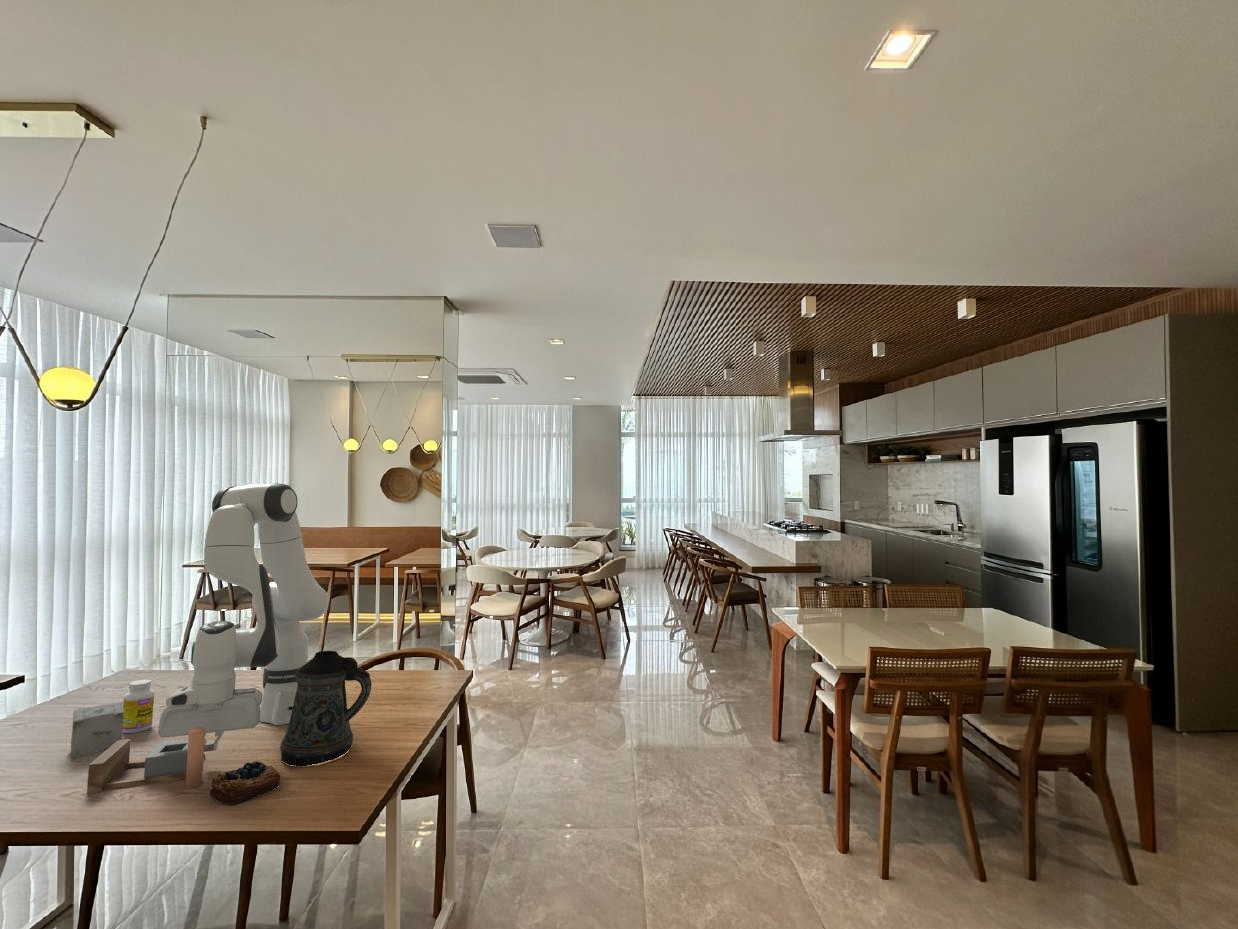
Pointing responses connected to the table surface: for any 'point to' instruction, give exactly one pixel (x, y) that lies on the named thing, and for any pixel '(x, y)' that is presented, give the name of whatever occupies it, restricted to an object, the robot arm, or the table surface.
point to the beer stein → (323, 710)
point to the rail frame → (119, 769)
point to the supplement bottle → (138, 707)
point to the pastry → (244, 783)
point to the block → (167, 759)
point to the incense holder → (96, 728)
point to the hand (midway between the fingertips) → (209, 750)
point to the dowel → (195, 757)
